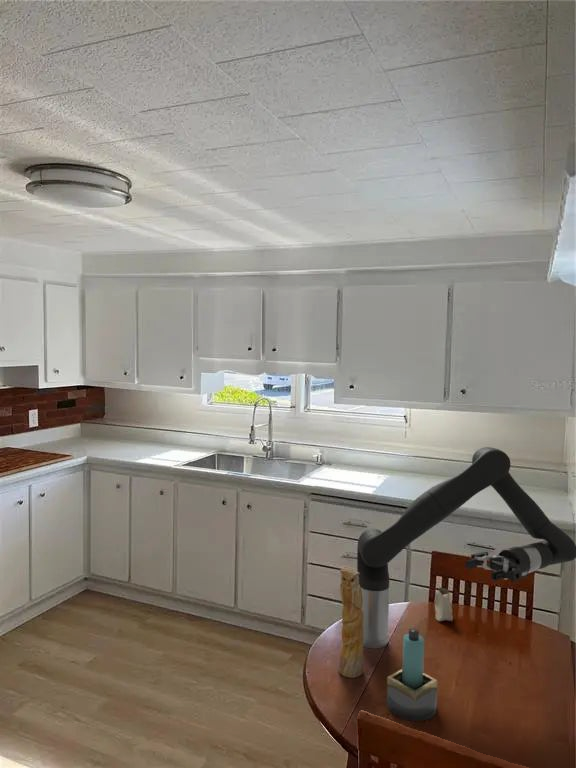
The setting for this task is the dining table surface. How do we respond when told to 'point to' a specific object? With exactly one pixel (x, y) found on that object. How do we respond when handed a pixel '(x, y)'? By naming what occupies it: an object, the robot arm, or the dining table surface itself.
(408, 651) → the bottle
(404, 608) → the dining table surface
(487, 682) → the dining table surface
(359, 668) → the sculpture
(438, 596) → the grey sack
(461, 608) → the dining table surface
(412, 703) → the disc with square collar
